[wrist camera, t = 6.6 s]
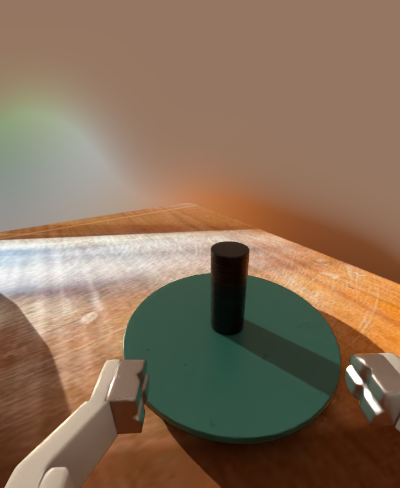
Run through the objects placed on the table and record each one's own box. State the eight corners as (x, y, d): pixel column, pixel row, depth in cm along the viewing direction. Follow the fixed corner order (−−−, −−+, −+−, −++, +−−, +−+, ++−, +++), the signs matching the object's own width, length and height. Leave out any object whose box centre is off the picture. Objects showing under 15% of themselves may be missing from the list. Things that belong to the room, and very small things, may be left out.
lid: (401, 413, 13) (457, 303, 10) (112, 492, 10) (74, 372, 7) (270, 274, 26) (278, 210, 23) (130, 292, 23) (119, 222, 20)
